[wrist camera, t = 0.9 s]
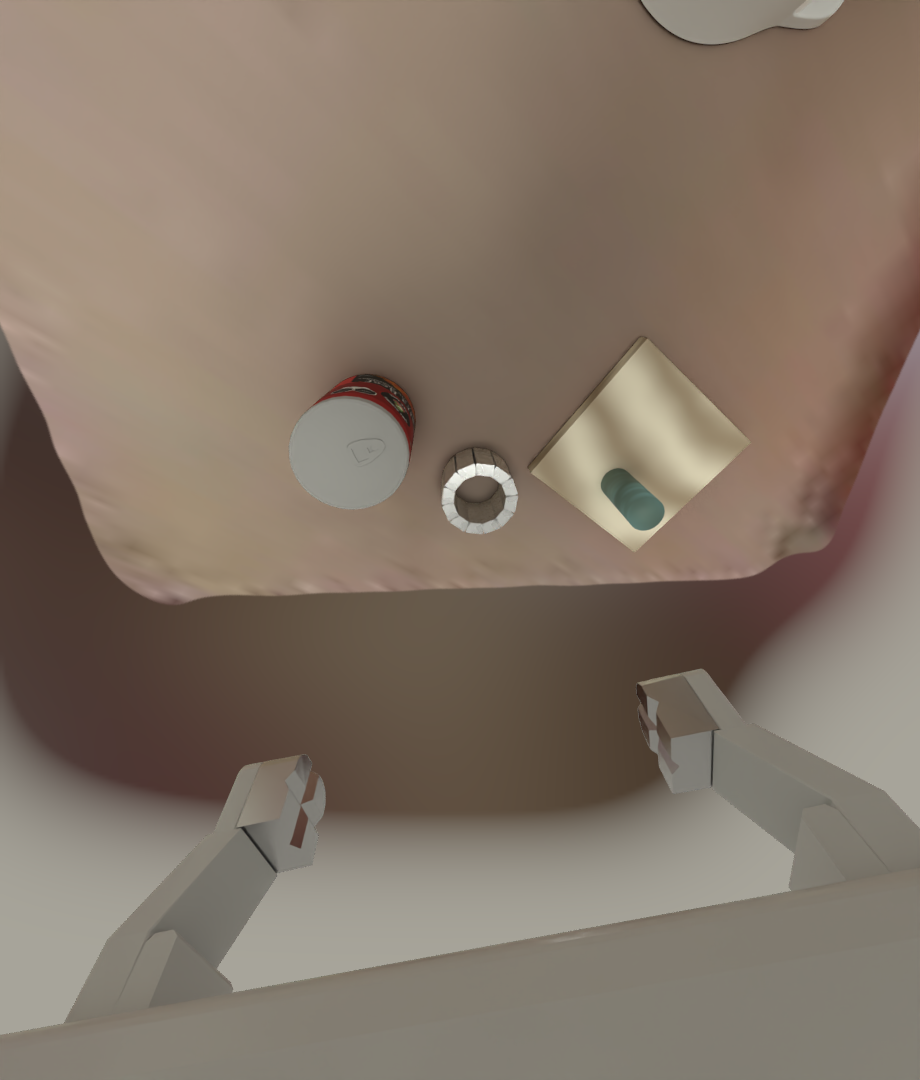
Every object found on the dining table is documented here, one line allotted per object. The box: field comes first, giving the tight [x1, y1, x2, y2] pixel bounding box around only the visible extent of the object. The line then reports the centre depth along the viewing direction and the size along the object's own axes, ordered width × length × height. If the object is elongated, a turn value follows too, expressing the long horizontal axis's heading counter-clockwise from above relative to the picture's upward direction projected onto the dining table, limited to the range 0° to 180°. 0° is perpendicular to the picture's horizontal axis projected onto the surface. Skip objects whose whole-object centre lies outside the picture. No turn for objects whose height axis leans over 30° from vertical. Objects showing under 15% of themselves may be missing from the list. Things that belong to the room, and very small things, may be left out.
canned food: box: [289, 374, 415, 510], centre depth 35 cm, size 8×8×11 cm
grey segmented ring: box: [441, 448, 518, 534], centre depth 41 cm, size 6×6×4 cm
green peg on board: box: [528, 337, 751, 552], centre depth 38 cm, size 14×14×8 cm
